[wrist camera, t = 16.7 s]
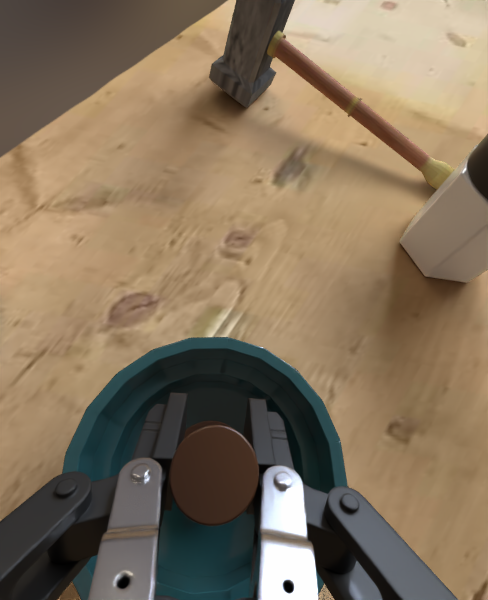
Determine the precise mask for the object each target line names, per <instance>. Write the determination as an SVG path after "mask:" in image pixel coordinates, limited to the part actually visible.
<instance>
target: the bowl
mask: <svg viewBox="0 0 488 600" xmlns="http://www.w3.org/2000/svg"><path fill="white" fill-rule="evenodd" d="M171 392H172V393H186V394H188V403H187V418H186V429H187V428H189V427H191V426H192V425H194V424H196V423H199V422H203V421H218V422H222V423H225V424H227V425H229V426H230V427H232V428H233V429H234V430H236V431H238V432H239V433H240V434H242V435H243V433H244V424H245V416H246V409H247V402H248V398H254V399H265V400H266V406H267V412H277V413H278V414H279V416H280V417H281V418H282V420H283V421H284V426H285V430H286V431H285V432H286V434H287V440H288V443H289V448H290V452H291V457H292V461H293V466H294V470H295V471H296V472H297V473H298V474H299V476H300V477H301V479H302V481H303V483H304V484H306V485H307V486H309V487H311V488H313V489H315V490H318V491H321V492H324V493H327V494H328V493H329V492H330V490H331V489H333V488H334V487H338V486H345V487H348V486H347V479H346V473H345V466H344V460H343V454H342V447H341V442H340V438H339V436H338V434H337V432H336V429H335V427H334V425H333V423H332V420H331V418H330V416H329V414H328V412H327V409H326V407H325V405H324V403H323V401H322V399H321V398H320V397H319V396H318V395H317V393H316V392H315V391H314V390H313V389H312V387H311V386H310V385H309V384H308V383H307V381H306V380H305V379H304V378H303V377H302V376H301V374H300V373H299V372H298V371H297V370H296V369H295V368H294V367H292V366H290V365H289V364H287V363H286V362H284V361H283V360H281V359H280V358H278V357H277V356H275V355H274V354H272V353H271V352H269V351H268V350H266V349H264V348H262V347H259V346H256V345H252V344H249V343H245V342H242V341H239V340H235V339H232V338H228V337H205V338H188V339H185V340H181V341H178V342H175V343H172V344H169V345H165V346H162V347H159V348H156V349H153V350H151V351H150V352H148V353H147V354H145V355H144V356H142V357H141V358H139V359H138V360H136V361H135V362H133V363H132V364H130V365H129V366H127V367H126V368H124V369H123V370H121V371H120V372H118V374H116V375H115V376H114V377H113V378H112V380H111V381H110V382H109V383H108V384H107V385H106V386H105V388H104V389H103V390H102V391H101V392H100V393H99V395H98V396H97V397H96V398H95V399H94V400H93V402H92V403H91V404H90V405H89V406H88V407H87V409H86V411H85V413H84V415H83V417H82V419H81V422H80V424H79V426H78V428H77V430H76V432H75V434H74V436H73V439H72V441H71V443H70V445H69V447H68V449H67V451H66V455H65V459H64V465H63V471H62V474H64V473H67V472H73V471H76V472H82V473H85V474H86V475H88V476H89V478H90V480H91V482H92V481H97V480H101V479H106V478H110V477H112V476H115V475H117V474H119V472H120V471H121V469H122V468H123V466H125V465H126V464H127V463H128V462H130V461H131V459H132V456H133V453H134V450H135V448H136V445H137V442H138V439H139V436H140V434H141V431H142V428H143V425H144V423H145V420H146V417H147V414H148V412H149V411H150V410H151V409H152V408H153V407H154V406H155V405H156V404H166V405H167V403H168V399H169V396H170V393H171ZM254 527H255V520H254V515H251V514H247V509H246V510H245V511H244V512H243V513H242V514H241V515H240V516H239V517H238V518H236V519H235V520H233V521H231V522H229V523H227V524H224V525H219V526H205V525H201V524H198V523H196V522H193V521H192V520H190V519H189V518H187V517H186V516H185V515H184V514H183V513H182V512H181V511H180V510H179V508H178V507H177V505H176V503H175V501H174V499H173V504H172V510H171V511H167V510H164V515H163V520H162V524H161V527H160V538H159V555H158V572H157V589H156V595H166V596H171V597H174V598H176V599H179V600H236V599H239V598H242V597H244V598H248V595H249V583H250V570H251V556H252V543H253V533H254ZM97 556H98V555H96V556H92V557H91V559H90V560H89V562H88V563H87V564H86V565H85V566H84V568H83V569H82V570H81V571H80V572H79V574H78V575H77V576H76V577H75V578H74V579H73V581H72V582H73V584H74V586H75V588H76V590H77V592H78V594H79V596H80V598H81V600H88V597H89V592H90V588H91V583H92V579H93V574H94V570H95V565H96V561H97ZM316 578H317V588H318V594H319V593H320V592H321V589H322V587H323V585H324V582H323V580H322V579H321V577H320V576H319V574H318V572H317V571H316Z"/></svg>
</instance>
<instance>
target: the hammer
mask: <svg viewBox="0 0 488 600" xmlns="http://www.w3.org/2000/svg"><path fill="white" fill-rule="evenodd" d="M294 1H295V0H236V5H235V9H234V13H233V16H232V21H231V26H230V30H229V34H228V38H227V42H226V47H225V51H224V55H223V56H221V57H220V58H219V59H218V60H216V61H215V62H214V63H213V64H212V66H211V71H210V76H209V78H210V79H211V80H212V81H213V83H215V84H216V85H217V86H219V87H220V88H221V89H222V90H224V91H225V92H226V93H228V94H229V95H230V96H231V97H233V98H234V99H235V100H236V101H238V102H239V103H240V104H242V105H243V106H244V107H248V106H249V105H250V104H251V103H252V102H253V101H254V100H255V99H257V98H258V97H259V96H260V95H261V94H262V93H263V92H264V91H265V90H266V89H267V88H268V87H269V86H270V85H271V83H272V81H273V78H274V76H275V74H276V72H275V71H274V70H273V69H272V68H270V64H271V61H272V59H273V58H275V57H277V58H278V59H280V60H281V61H282V62H283V63H285V64H286V65H287V66H288V67H290V68H291V69H292V70H293V71H295V72H296V73H297V74H298V75H300V76H301V77H302V78H304V79H305V80H306V81H307V82H309V83H310V84H311V85H312V86H314V87H315V88H316V89H317V90H319V91H320V92H321V93H322V94H324V95H325V96H326V97H328V98H329V99H330V100H331V101H333V102H334V103H335V104H336V105H338V106H339V107H340V108H341V109H343V110H344V111H345V112H346V113H348V117H349V116H352V117H353V118H354V119H355V120H357V121H358V122H359V123H360V124H362V125H363V126H364V127H365V128H367V129H368V130H369V131H370V132H372V133H373V134H374V135H376V136H377V137H378V138H379V139H381V140H382V141H383V142H384V143H386V144H387V145H388V146H389V147H391V148H392V149H393V150H394V151H396V152H397V153H398V154H400V155H401V156H402V157H403V158H405V159H406V160H407V161H408V162H410V163H411V164H412V165H413V166H415V167H416V168H417V169H418V170H420V171H421V172H422V173H423V175H424V177H425V179H426V181H427V183H428V184H430V185H431V186H432V187H433V188H435V189H436V190H437V189H438V188H439V187H440V186H441V185H442V184H443V183H444V181H445V180H446V179H447V178H448V177H449V176H450V175H451V173H452V172H453V171H454V169H453V168H452V167H451V166H449V165H448V164H447V163H446V162H442V161H437V160H434V159H433V158H431V157H430V156H429V155H428V154H426V153H425V152H424V151H423V150H421V149H420V148H419V147H418V146H416V145H415V144H414V143H413V142H412V141H410V140H409V139H408V138H407V137H405V136H404V135H403V134H402V133H400V132H399V131H398V130H397V129H395V128H394V127H393V126H392V125H390V124H389V123H388V122H387V121H386V120H384V119H383V118H382V117H381V116H379V115H378V114H377V113H376V112H374V111H373V110H372V109H371V108H369V107H368V106H367V105H366V104H364V103H363V102H362V101H361V100H362V98H360V99H358V98H357V97H356V96H355V95H353V94H352V93H351V92H350V91H348V90H347V89H346V88H345V87H343V86H342V85H341V84H340V83H338V82H337V81H336V80H335V79H334V78H332V77H331V76H330V75H329V74H327V73H326V72H325V71H324V70H322V69H321V68H320V67H319V66H317V65H316V64H315V63H314V62H312V61H311V60H310V59H309V58H308V57H306V56H305V55H304V54H303V53H301V52H300V51H299V50H298V49H296V48H295V47H294V46H293V45H291V44H290V43H289V42H288V41H286V40H285V38H286V36H285V35H284V34H283V30H284V27H285V25H286V22H287V19H288V17H289V14H290V12H291V9H292V6H293V4H294Z"/></svg>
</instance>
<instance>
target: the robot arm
mask: <svg viewBox="0 0 488 600" xmlns="http://www.w3.org/2000/svg"><path fill="white" fill-rule="evenodd" d="M187 403H188V394H186V393H172V392H171V393H170V396H169V399H168V403H167V405H166V404H156V405H155V406H154V407H153V408H152V409H151V410H150V411H149V412H148V414H147V417H146V420H145V423H144V425H143V428H142V431H141V434H140V436H139V439H138V442H137V445H136V448H135V450H134V453H133V456H132V459H131V461H130V462H128V463H127V464H126V465H125V466H123V468H122V469H121V471H120V472H119V474H117V475H115V476H112V477H110V478H106V479H101V480H97V481H92V482H91V480H90V478H89V476H88V475H86V474H85V473H82V472H76V471H73V472H67V473H64V474H61V475H59V476H57V477H55V478H53V479H52V480H51V481H49V482H48V483H47V484H46V485H45V486H43V487H42V488H41V489H40V490H38V491H37V492H36V493H35V494H33V495H32V496H31V497H30V498H29V499H27V500H26V501H25V502H24V503H22V504H21V505H20V506H19V507H17V508H16V509H15V510H14V511H13V512H11V513H10V514H9V515H8V516H6V517H5V518H4V519H3V520H2V521H0V600H57V598H58V597H59V596H60V595H61V594H62V592H63V591H64V590H65V589H66V588H67V587H68V585H69V584H70V583H71V582H72V581H73V579H74V578H75V577H76V576H77V575H78V574H79V572H80V571H81V570H82V569H83V568H84V566H85V565H86V564H87V563H88V562H89V560H90V559H91V557H92V556H96V555H98V556H97V561H96V565H95V570H94V574H93V579H92V583H91V588H90V592H89V597H88V600H179V599H176V598H174V597H171V596H166V595H156V589H157V572H158V555H159V538H160V527H161V524H162V520H163V515H164V510H167V511H171V510H172V504H173V497H172V494H171V490H170V484H169V472H170V466H171V462H172V459H173V456H174V454H175V452H176V450H177V448H178V446H179V445H180V444H181V442H182V441H183V440H184V437H185V430H186V418H187ZM285 431H286V430H285V426H284V421H283V420H282V418H281V417H280V416H279V414H278V413H277V412H267V406H266V400H265V399H254V398H248V402H247V409H246V416H245V424H244V433H243V436H244V437H245V438H246V439H247V440H248V442H249V443H250V444H251V446H252V448H253V449H254V452H255V454H256V457H257V461H258V466H259V481H258V486H257V490H256V493H255V496H254V498H253V500H252V502H251V503H250V505H249V506H248V508H247V514H251V515H254V520H255V527H254V533H253V543H252V556H251V570H250V583H249V595H248V598H244V597H242V598H239V599H236V600H319V598H318V588H317V578H316V571H317V572H318V574H319V576H320V577H321V579H322V580H323V582H324V583H325V585H326V587H327V588H328V590H329V591H330V593H331V594H332V596H333V598H334V599H335V600H458V599H457V598H456V597H455V596H454V594H453V593H452V592H451V591H450V590H449V589H448V588H447V587H446V586H445V585H444V584H443V583H442V581H441V580H440V579H439V578H438V577H437V576H436V575H435V574H434V573H433V572H432V571H431V569H430V568H429V567H428V566H427V565H426V564H425V563H424V562H423V561H422V560H421V559H420V558H419V556H418V555H417V554H416V553H415V552H414V551H413V550H412V549H411V548H410V547H409V546H408V544H407V543H406V542H405V541H404V540H403V539H402V538H401V537H400V536H399V535H398V534H397V533H396V531H395V530H394V529H393V528H392V527H391V526H390V525H389V524H388V523H387V522H386V521H385V519H384V518H383V517H382V516H381V515H380V514H379V513H378V512H377V511H376V510H375V509H374V508H373V506H372V505H371V504H370V503H369V502H368V501H367V500H366V499H365V498H364V497H363V496H362V495H361V494H360V493H359V492H357V491H356V490H354V489H352V488H349V487H345V486H338V487H334V488H333V489H331V490H330V492H329V493H328V494H327V493H324V492H321V491H318V490H315V489H313V488H311V487H309V486H307V485H306V484H304V483H303V481H302V479H301V477H300V476H299V474H298V473H297V472H296V471H295V470H294V466H293V461H292V457H291V452H290V448H289V443H288V440H287V434H286V432H285Z"/></svg>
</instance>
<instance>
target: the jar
mask: <svg viewBox="0 0 488 600" xmlns="http://www.w3.org/2000/svg"><path fill="white" fill-rule="evenodd" d="M400 243H401V245H402V246H403V247H404V249H405V250H406V252H407V253H408V254H409V256H410V257H411V258H412V260H413V261H414V262H415V264H416V265H417V266H418V268H419V269H420V270H421V272H422V273H423V275H424V276H426V277H432V278H439V279H446V280H453V281H460V282H470V281H471V280H473V279H474V278H476V277H477V276H479V275H480V274H482V273H483V272H485V271H487V270H488V134H487V135H486V136H485V138H484V139H483V140H482V141H481V142H480V143H479V144H478V145H476V146H475V147H474V148H473V149H472V151H471V152H470V153H469V154H468V155H467V156H466V157H465V159H464V160H463V161H462V162H461V163H460V164H459V165H458V167H457V168H456V169H455V170H454V171H453V172H452V173H451V175H450V176H449V177H448V178H447V179H446V180H445V181H444V183H443V184H442V185H441V186H440V187H439V188H438V189H437V191H436V192H435V193H434V194H433V195H432V196H431V197H430V199H429V200H428V201H427V202H426V203H425V204H424V205H423V207H422V208H421V209H420V210H419V211H418V212H417V213H416V215H415V216H414V218H413V219H412V221H411V222H410V224H409V226H408V227H407V229H406V231H405V232H404V234H403V235H402V237H401V239H400Z"/></svg>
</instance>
